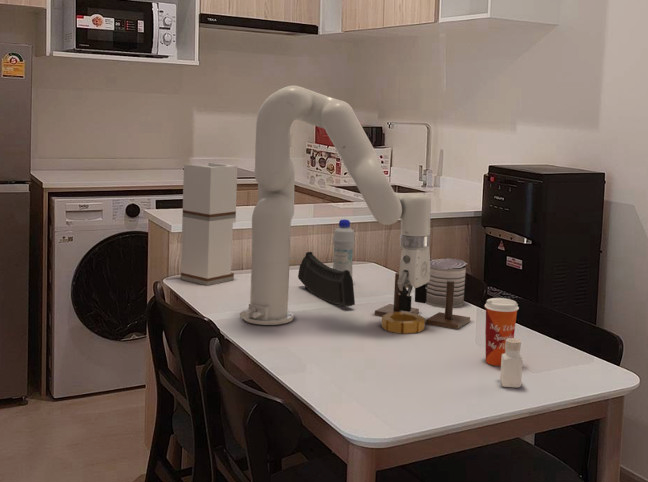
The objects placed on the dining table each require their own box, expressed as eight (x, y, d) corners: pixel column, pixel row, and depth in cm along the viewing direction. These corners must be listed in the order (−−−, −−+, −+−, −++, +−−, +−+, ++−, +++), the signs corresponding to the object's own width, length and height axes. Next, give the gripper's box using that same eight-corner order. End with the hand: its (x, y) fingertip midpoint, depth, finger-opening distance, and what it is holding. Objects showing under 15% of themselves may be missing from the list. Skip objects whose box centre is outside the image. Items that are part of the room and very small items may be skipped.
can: (470, 306, 235) (473, 265, 234) (433, 308, 231) (436, 266, 230) (454, 297, 246) (456, 257, 245) (419, 298, 241) (421, 258, 240)
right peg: (457, 329, 211) (460, 286, 210) (425, 323, 214) (428, 281, 213) (470, 321, 219) (472, 280, 218) (438, 316, 223) (441, 275, 222)
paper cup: (487, 368, 181) (491, 306, 180) (476, 357, 189) (480, 297, 187) (520, 367, 184) (524, 305, 182) (508, 356, 191) (512, 297, 190)
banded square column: (233, 279, 252) (237, 166, 248) (207, 285, 243) (211, 167, 239) (207, 273, 258) (210, 162, 254) (180, 279, 249) (183, 164, 245)
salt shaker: (518, 381, 174) (521, 338, 173) (521, 388, 170) (524, 343, 169) (499, 381, 173) (502, 337, 173) (501, 387, 169) (504, 342, 169)
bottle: (327, 283, 253) (330, 219, 251) (336, 279, 260) (339, 217, 258) (347, 286, 251) (350, 221, 250) (355, 282, 258) (359, 219, 256)
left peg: (404, 320, 217) (407, 278, 216) (374, 315, 220) (376, 273, 219) (418, 313, 225) (421, 272, 224) (389, 308, 229) (391, 268, 228)
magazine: (360, 279, 222) (315, 230, 245) (350, 280, 220) (305, 230, 243) (349, 333, 227) (306, 280, 250) (338, 335, 225) (296, 281, 248)
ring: (413, 335, 203) (413, 325, 203) (375, 328, 207) (376, 318, 207) (429, 326, 213) (430, 316, 212) (393, 319, 217) (394, 310, 216)
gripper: (414, 248, 202) (412, 316, 204) (441, 238, 218) (439, 301, 220) (387, 245, 205) (385, 312, 207) (415, 235, 221) (413, 297, 223)
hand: (412, 306), depth 213 cm, fingers open, 9 cm apart
